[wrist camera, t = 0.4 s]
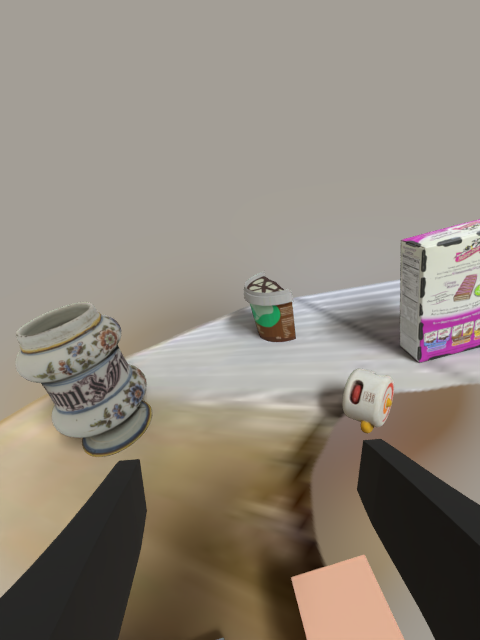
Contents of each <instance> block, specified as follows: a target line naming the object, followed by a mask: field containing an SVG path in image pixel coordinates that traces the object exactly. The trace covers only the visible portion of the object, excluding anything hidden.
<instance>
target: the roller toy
mask: <svg viewBox="0 0 480 640" xmlns="http://www.w3.org/2000/svg"><path fill="white" fill-rule="evenodd" d="M393 393H394V383H393V380H392V378H391V377H390V376H388V375H385V376H379V375H376V373H375V372H373V371H369V370H365V369H356V370H354V371H353V372H352V373H351V375H350V376H349V378H348V380H347V383H346V386H345V390H344V394H343V402H342V405H343V411H344V413H345V415H346V416H348V417H349V418H352V419H355V420H357V421H360V422H361V430H362V431H363V432H365V433H370V432H371V431H372V430H373V428H374V426H375V427H380V426H382V425H383V424H384V422H385V421H386V419H387V416H388V414H389V411H390V408H391V404H392V399H393Z"/></svg>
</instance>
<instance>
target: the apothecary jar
mask: <svg viewBox="0 0 480 640" xmlns="http://www.w3.org/2000/svg"><path fill="white" fill-rule="evenodd" d="M16 337H17V340H18V342H19V343H20V348H21V350H20V351H19V353H18V355H17V358H16V369H17V371H18V373H19V374H20V375H21V376H22V377H23V378H25V379H26V380H29V381H31V382H36V383H42V385H43V386H44V388H45V389H46V391H47V393H48V394H49V396H50V397H51V399H52V401H53V402H54V404H55V405H54V408H53V411H52V422H53V424H54V426H55V428H56V429H57V430H58V431H59V432H60V433H62V434H64V435H66V436H69V437H76V438H83V439H82V445H83V449H84V450H85V452H86V453H87V454H89V455H91V456H95V457H103V456H108V455H112V454H115V453H117V452H120V451H122V450H124V449H125V448H127V447H128V446H130V445H131V444H133V443H134V442H135V441H136V440H138V439H139V438H140V437H141V435H142V434H143V433H144V432H145V431H146V429H147V428H148V426H149V424H150V421H151V418H152V409H151V407H150V405H149V404H148V403H146V402H145V401H142V399H143V397H144V394H145V391H146V378H145V376H144V374H143V373H142V371H141V370H139V369H138V368H137V367H135V366H133V365H130V364H127V362H126V360H125V358H124V357H123V355H122V353H121V351H120V349H119V347H118V342H119V340H120V338H121V328H120V325H119V324H118V322H117V321H116V320H114V319H113V318H111V317H109V316H106V315H101V314H100V313H99V312H98V311H97V310H96V309H95V307H94V306H93V305H92V304H91V303H89V302H80V303H75V304H70V305H67V306H64V307H60V308H58V309H55V310H53V311H50V312H48V313H46V314H43V315H41V316H39V317H37V318H35V319H34V320H32V321H30V322H28V323H27V324H25V325H24V326H22V327H21V328H20V329H19V330H18V331H17V332H16Z"/></svg>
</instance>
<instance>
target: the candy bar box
mask: <svg viewBox="0 0 480 640" xmlns="http://www.w3.org/2000/svg"><path fill="white" fill-rule="evenodd" d="M400 290H401V293H400V346H401V347H402V348H403V349H404V350H405V351H406V352H408V353H409V354H410V355H411V356H412V357H413V358H414V359H416V360H417V361H418V362H424V361H428V360H432V359H436V358H440V357H443V356H447V355H451V354H455V353H459V352H462V351H466V350H470V349H473V348H477V347H480V219H479V220H475V221H471V222H467V223H463V224H459V225H455V226H451V227H448V228H444V229H440V230H436V231H433V232H429V233H425V234H421V235H418V236H414V237H410V238H406V239H402V240H401V278H400Z"/></svg>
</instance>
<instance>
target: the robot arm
mask: <svg viewBox="0 0 480 640" xmlns="http://www.w3.org/2000/svg"><path fill="white" fill-rule="evenodd" d="M357 491H358V493H359V496H360V498H361V500H362V503H363V505H364V508H365V510H366V512H367V514H368V517H369V519H370V521H371V523H372V525H373V527H374V529H375V531H376V533H377V534H378V536H379V538H380V540H381V541H382V543H383V545H384V547H385V549H386V551H387V552H388V554H389V556H390V558H391V559H392V561H393V563H394V565H395V566H396V568H397V570H398V572H399V573H400V575H401V577H402V579H403V581H404V582H405V584H406V586H407V588H408V589H409V591H410V593H411V595H412V596H413V598H414V600H415V602H416V604H417V605H418V607H419V609H420V611H421V612H422V615H423V616H424V618H425V620H426V622H427V624H428V626H429V628H430V630H431V632H432V634H433V636H434V638H435V640H480V505H479V504H477V503H476V502H474V501H472V500H470V499H469V498H468V497H466V496H465V495H463V494H462V493H460V492H459V491H457V490H455V489H454V488H452V487H451V486H449V485H448V484H446V483H445V482H443V481H442V480H440V479H439V478H437V477H436V476H434V475H433V474H432V473H430V472H429V471H427V470H426V469H424V468H423V467H421V466H420V465H419V464H417V463H416V462H414V461H413V460H411V459H410V458H409V457H407V456H406V455H404V454H403V453H401V452H400V451H398V450H397V449H395V448H394V447H393V446H391V445H389V444H388V443H386V442H385V441H383V440H382V439H375V440H363V447H362V454H361V462H360V470H359V478H358V486H357ZM146 512H147V509H146V502H145V495H144V487H143V480H142V473H141V466H140V459H136V460H124V461H119V462H118V463H117V464H116V465H115V466H114V468H113V469H112V470H111V471H110V473H109V474H108V475H107V477H106V478H105V479H104V480H103V482H102V483H101V484H100V486H99V487H98V488H97V489H96V491H95V492H94V493H93V494H92V496H91V497H90V498H89V499H88V501H87V502H86V503H85V504H84V506H83V507H82V508H81V509H80V510H79V512H78V513H77V514H76V515H75V517H74V518H73V519H72V520H71V521H70V523H69V524H68V525H67V526H66V527H65V529H64V530H63V531H62V532H61V533H60V534H59V535H58V537H57V538H56V539H55V540H54V541H53V542H52V543H51V544H50V546H49V547H48V548H47V549H46V550H45V551H44V552H43V553H42V554H41V556H40V557H39V558H38V559H37V560H36V561H35V562H34V563H33V565H32V566H31V567H30V568H29V569H28V570H27V571H26V572H25V573H24V574H23V575H22V576H21V577H20V578H19V579H18V580H17V581H16V583H15V584H14V585H13V586H12V587H11V588H10V589H9V590H8V591H7V592H6V593H5V594H4V595H3V596H2V597H1V598H0V640H118V637H119V633H120V629H121V625H122V621H123V617H124V613H125V610H126V606H127V602H128V598H129V594H130V590H131V586H132V582H133V578H134V574H135V570H136V566H137V562H138V558H139V554H140V550H141V545H142V539H143V532H144V526H145V519H146Z"/></svg>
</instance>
